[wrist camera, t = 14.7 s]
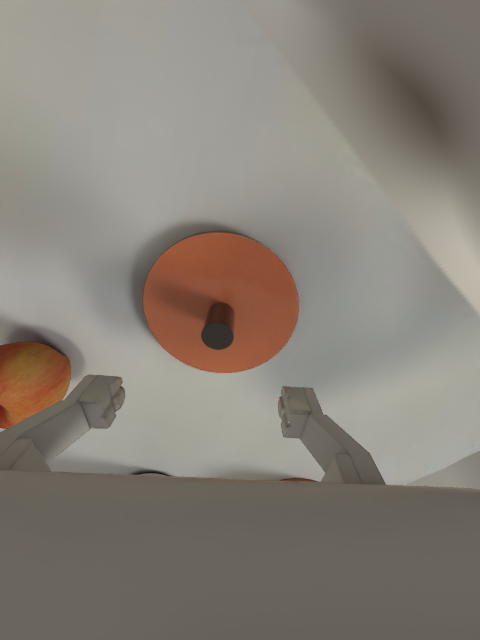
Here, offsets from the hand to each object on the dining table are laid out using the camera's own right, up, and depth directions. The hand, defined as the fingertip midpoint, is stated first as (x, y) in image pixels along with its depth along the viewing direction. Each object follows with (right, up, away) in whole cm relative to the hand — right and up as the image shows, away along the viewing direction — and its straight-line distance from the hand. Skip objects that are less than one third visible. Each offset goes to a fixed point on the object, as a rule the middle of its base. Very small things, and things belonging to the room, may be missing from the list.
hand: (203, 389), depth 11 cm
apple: (-18, 0, +12) cm, 21 cm away
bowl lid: (0, +4, +8) cm, 9 cm away
